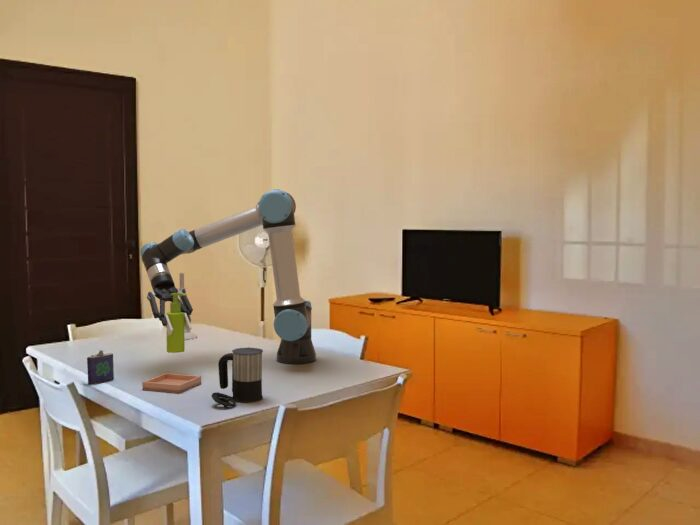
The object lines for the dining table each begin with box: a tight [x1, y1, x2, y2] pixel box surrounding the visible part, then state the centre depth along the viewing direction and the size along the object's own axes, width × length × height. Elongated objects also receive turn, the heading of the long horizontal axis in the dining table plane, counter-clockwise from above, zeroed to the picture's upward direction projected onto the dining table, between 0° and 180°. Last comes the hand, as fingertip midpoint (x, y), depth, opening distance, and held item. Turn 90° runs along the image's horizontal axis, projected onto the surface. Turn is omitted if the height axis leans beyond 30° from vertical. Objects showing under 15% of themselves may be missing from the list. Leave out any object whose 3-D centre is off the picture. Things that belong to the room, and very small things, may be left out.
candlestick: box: [177, 272, 198, 341], centre depth 294 cm, size 13×13×30 cm
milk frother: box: [211, 347, 264, 408], centre depth 191 cm, size 14×16×15 cm
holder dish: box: [142, 372, 202, 394], centre depth 208 cm, size 14×13×2 cm
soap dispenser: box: [166, 293, 188, 354], centre depth 221 cm, size 6×7×20 cm
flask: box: [86, 349, 115, 386], centre depth 214 cm, size 9×3×11 cm, turn 144°
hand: (180, 331), depth 218 cm, fingers closed on soap dispenser, 6 cm apart
